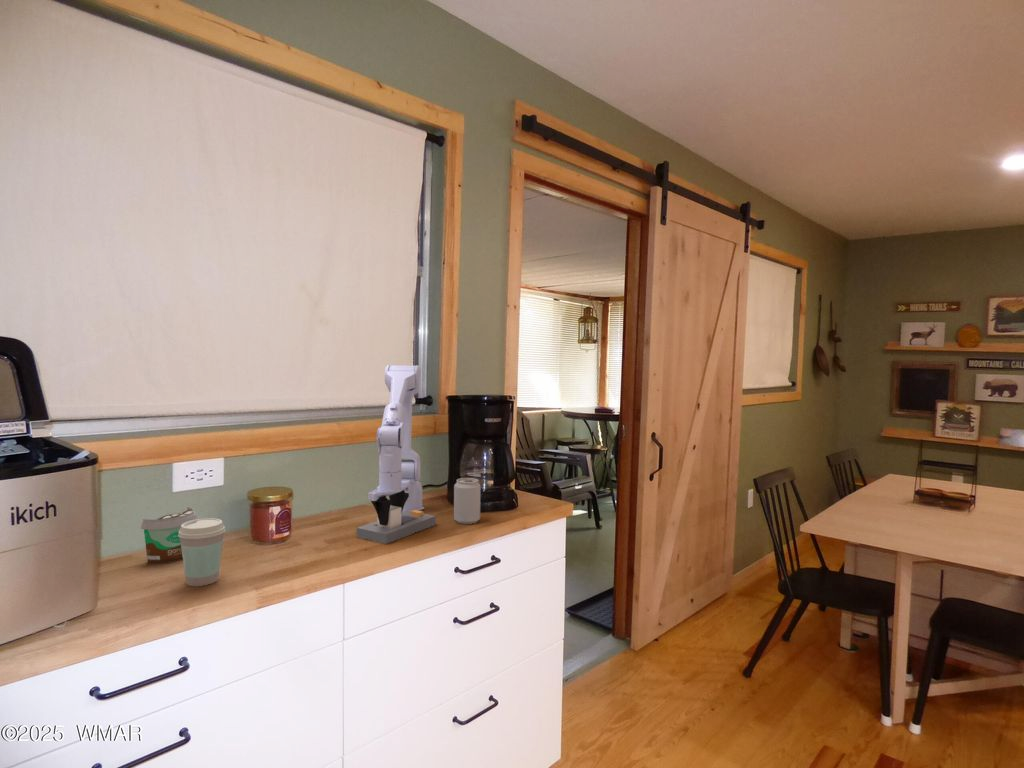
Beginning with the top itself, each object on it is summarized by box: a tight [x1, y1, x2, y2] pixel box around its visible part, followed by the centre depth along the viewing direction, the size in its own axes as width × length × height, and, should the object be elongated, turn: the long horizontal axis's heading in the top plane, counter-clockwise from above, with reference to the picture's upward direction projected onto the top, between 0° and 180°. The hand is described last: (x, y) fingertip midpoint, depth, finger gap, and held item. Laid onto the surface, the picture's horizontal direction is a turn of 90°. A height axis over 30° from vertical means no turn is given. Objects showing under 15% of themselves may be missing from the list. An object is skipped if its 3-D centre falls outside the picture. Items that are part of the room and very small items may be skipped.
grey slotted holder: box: [356, 510, 437, 545], centre depth 156 cm, size 20×10×4 cm, turn 150°
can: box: [453, 477, 482, 525], centre depth 166 cm, size 8×8×12 cm
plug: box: [376, 506, 401, 529], centre depth 153 cm, size 4×4×6 cm
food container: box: [140, 506, 198, 564], centre depth 133 cm, size 12×6×10 cm, turn 160°
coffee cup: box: [178, 517, 226, 587], centre depth 119 cm, size 8×8×12 cm
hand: (390, 522), depth 153 cm, fingers open, 4 cm apart
